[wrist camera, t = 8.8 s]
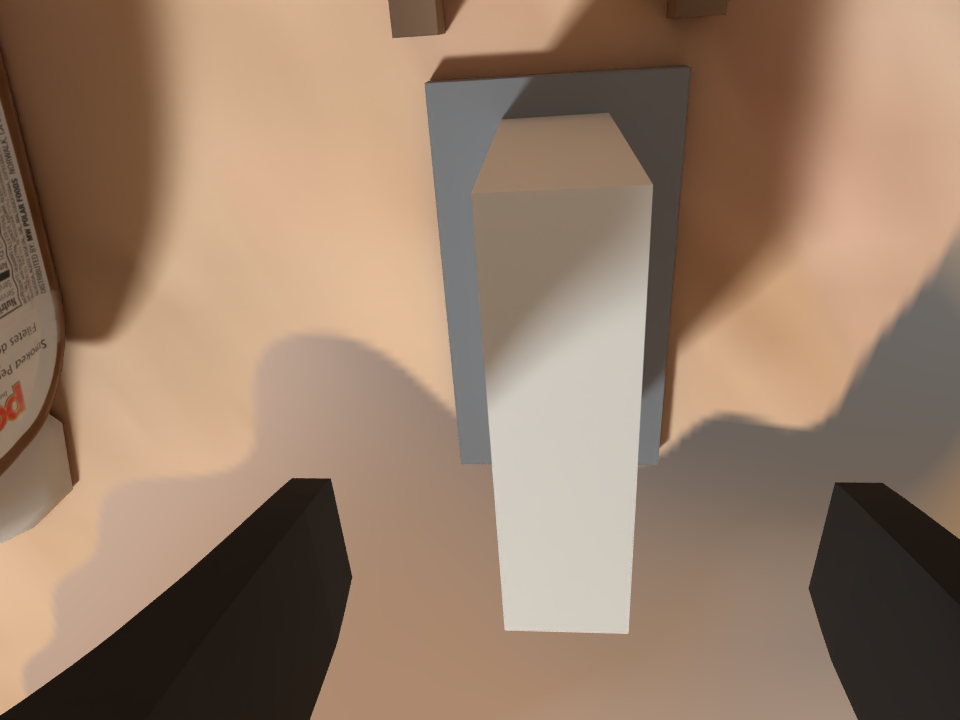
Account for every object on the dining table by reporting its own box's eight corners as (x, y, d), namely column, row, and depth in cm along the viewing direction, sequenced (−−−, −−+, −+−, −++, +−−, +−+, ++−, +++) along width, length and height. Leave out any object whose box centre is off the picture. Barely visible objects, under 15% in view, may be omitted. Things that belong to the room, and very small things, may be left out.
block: (608, 112, 15) (653, 184, 9) (601, 433, 19) (628, 633, 13) (501, 119, 15) (471, 193, 9) (517, 434, 19) (504, 630, 13)
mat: (685, 65, 15) (690, 67, 14) (654, 453, 20) (657, 464, 20) (428, 81, 15) (424, 83, 15) (463, 452, 21) (461, 464, 20)
